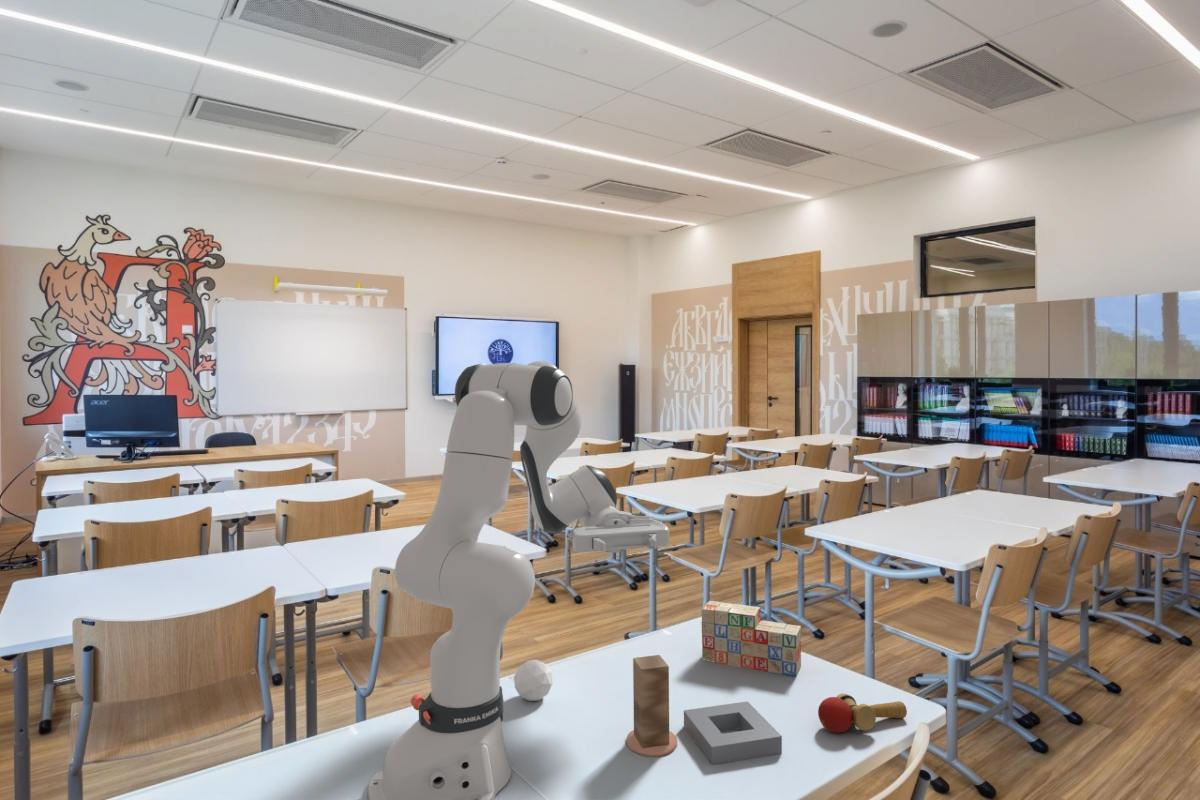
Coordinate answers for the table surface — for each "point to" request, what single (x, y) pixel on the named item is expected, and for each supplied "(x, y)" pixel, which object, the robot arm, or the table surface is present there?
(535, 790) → the table surface
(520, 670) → the geometric ball
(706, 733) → the pocket holder
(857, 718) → the kendama
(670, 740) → the terracotta coaster
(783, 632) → the stack of blocks
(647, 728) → the walnut block
